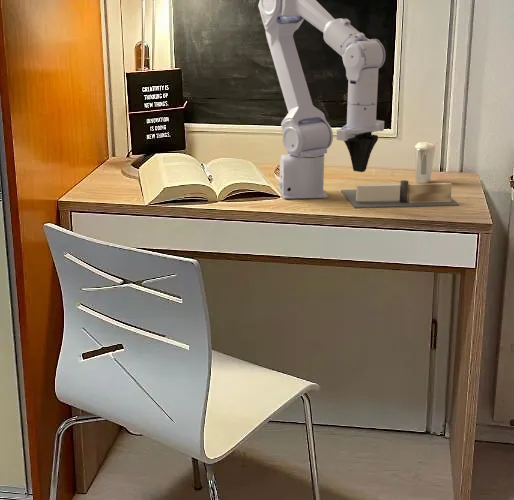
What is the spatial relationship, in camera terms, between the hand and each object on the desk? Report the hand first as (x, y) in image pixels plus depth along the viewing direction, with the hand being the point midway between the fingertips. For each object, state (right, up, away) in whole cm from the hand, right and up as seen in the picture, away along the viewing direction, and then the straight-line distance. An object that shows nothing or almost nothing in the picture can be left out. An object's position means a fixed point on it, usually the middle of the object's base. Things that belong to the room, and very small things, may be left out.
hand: (359, 171), depth 181 cm
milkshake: (+18, 0, +26) cm, 32 cm away
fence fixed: (+15, -6, +8) cm, 18 cm away
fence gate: (+5, -5, +7) cm, 10 cm away
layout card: (+10, -5, +12) cm, 16 cm away
